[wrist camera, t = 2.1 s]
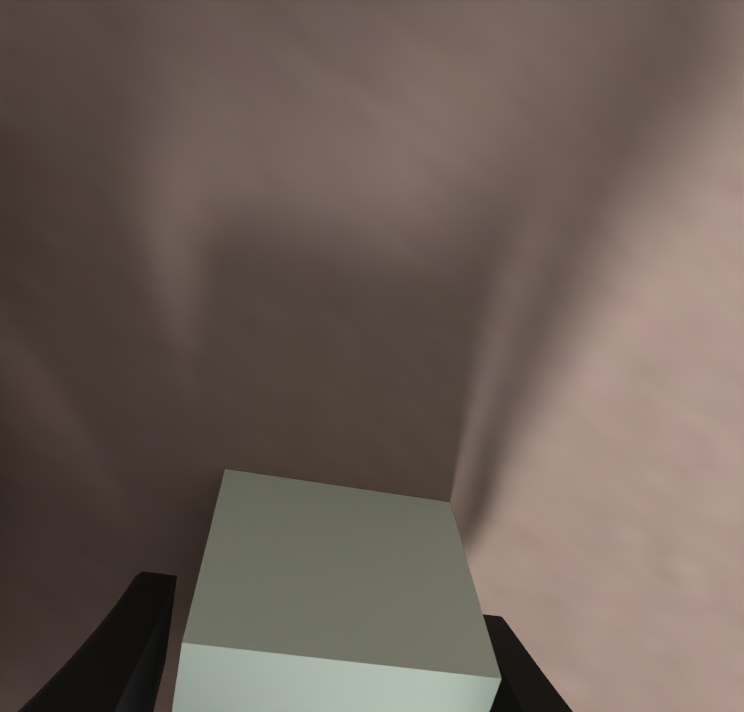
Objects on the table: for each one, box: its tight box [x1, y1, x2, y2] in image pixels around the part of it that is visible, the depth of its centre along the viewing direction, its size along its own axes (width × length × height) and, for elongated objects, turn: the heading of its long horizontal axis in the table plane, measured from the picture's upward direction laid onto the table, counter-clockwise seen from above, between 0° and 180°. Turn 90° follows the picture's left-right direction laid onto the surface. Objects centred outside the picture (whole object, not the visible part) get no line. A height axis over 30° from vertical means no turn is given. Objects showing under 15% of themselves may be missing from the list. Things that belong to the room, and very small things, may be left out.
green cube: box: [172, 469, 502, 712], centre depth 13 cm, size 4×4×4 cm
